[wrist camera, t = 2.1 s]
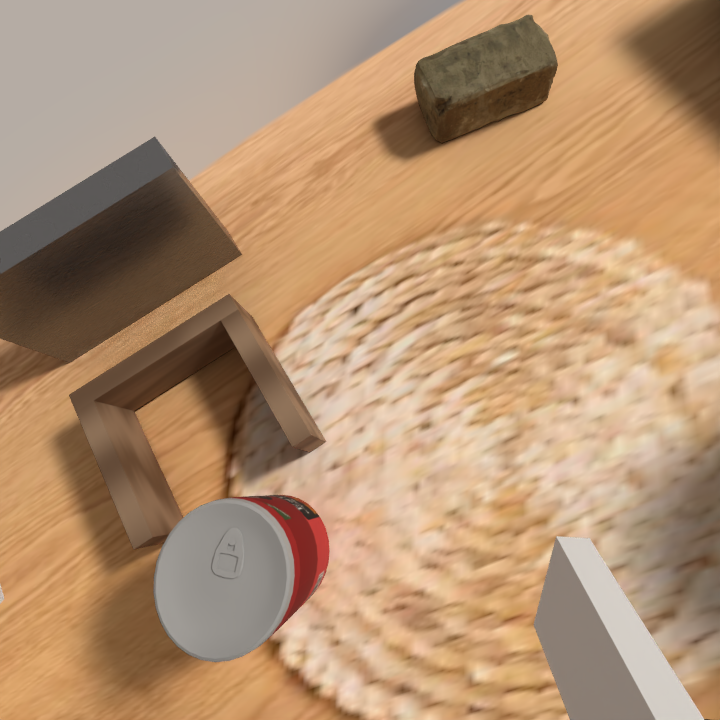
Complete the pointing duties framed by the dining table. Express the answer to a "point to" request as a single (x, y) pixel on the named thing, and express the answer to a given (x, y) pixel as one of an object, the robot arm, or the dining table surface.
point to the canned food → (238, 573)
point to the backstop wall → (106, 254)
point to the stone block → (485, 78)
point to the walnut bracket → (153, 377)
